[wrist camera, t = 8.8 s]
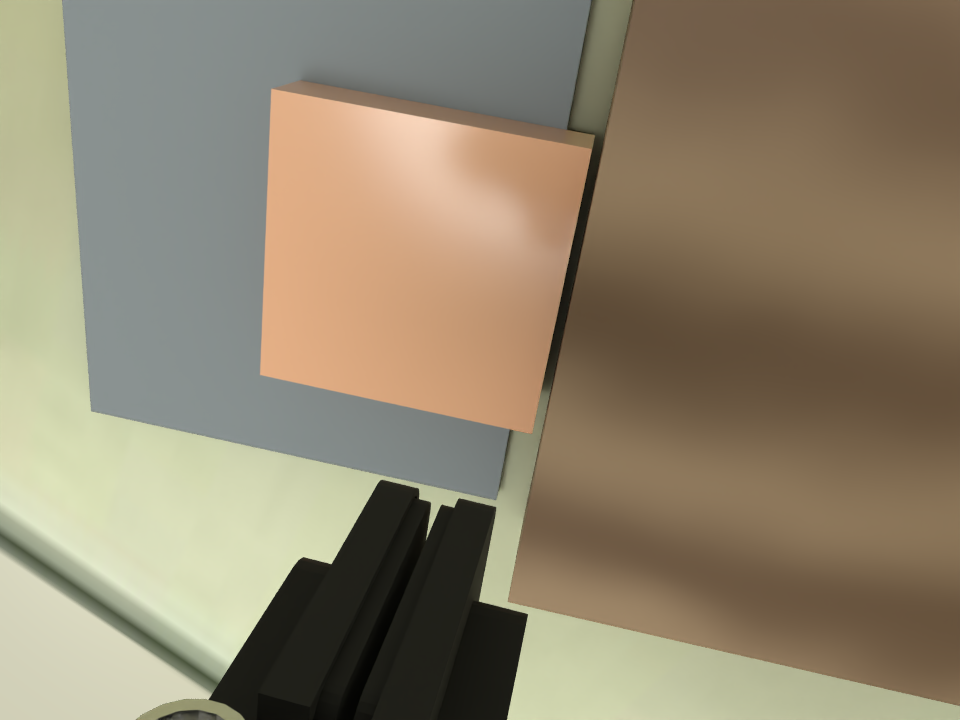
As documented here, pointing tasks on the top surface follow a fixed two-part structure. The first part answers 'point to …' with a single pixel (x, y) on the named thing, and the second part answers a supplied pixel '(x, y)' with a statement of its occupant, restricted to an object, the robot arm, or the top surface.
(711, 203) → the deck
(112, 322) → the mat
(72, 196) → the top surface
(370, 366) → the tile
